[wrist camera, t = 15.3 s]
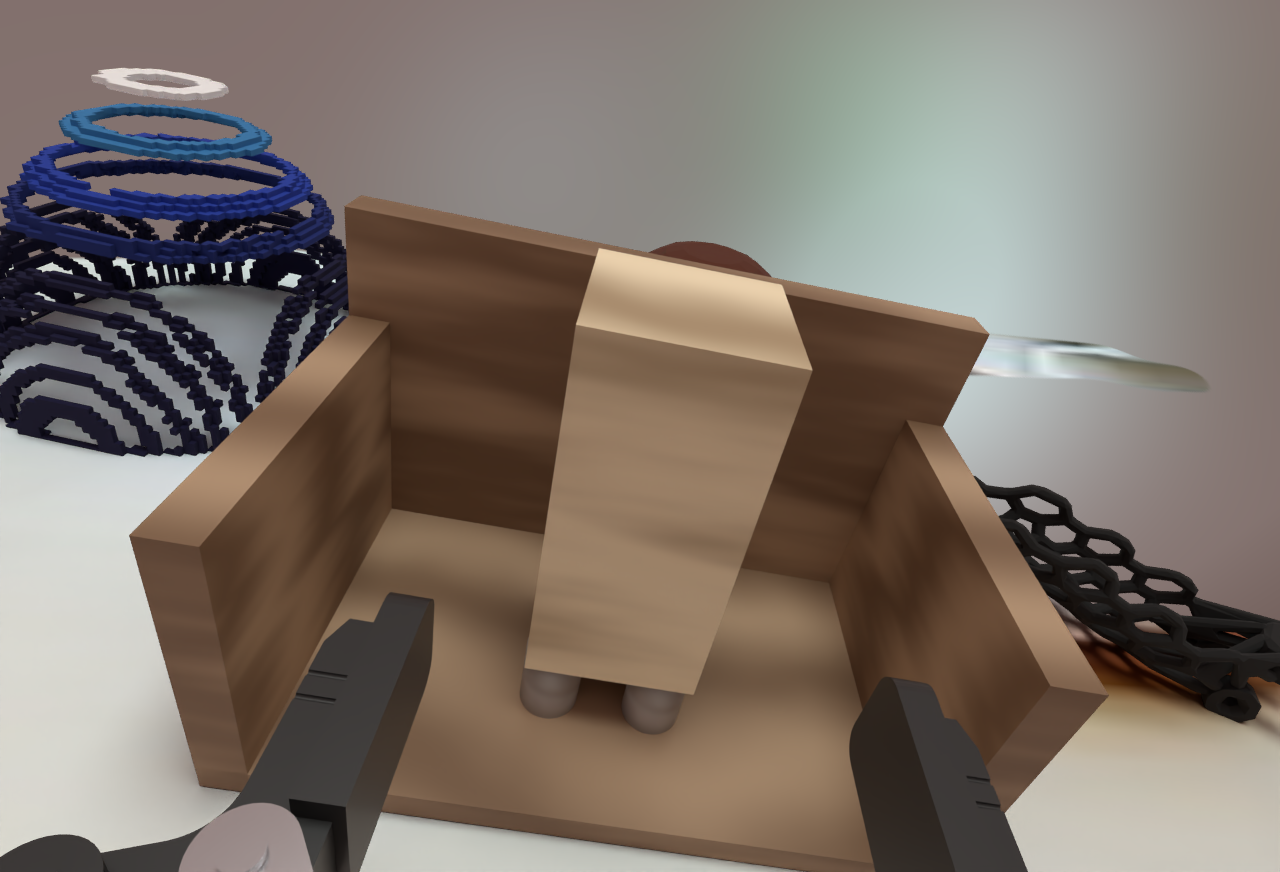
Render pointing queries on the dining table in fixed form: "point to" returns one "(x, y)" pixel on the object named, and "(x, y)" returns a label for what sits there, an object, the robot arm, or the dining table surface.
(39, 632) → the dining table surface
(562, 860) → the dining table surface
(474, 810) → the peg frame
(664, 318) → the oak shelf block
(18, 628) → the dining table surface
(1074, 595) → the decorative element
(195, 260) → the decorative bowl
